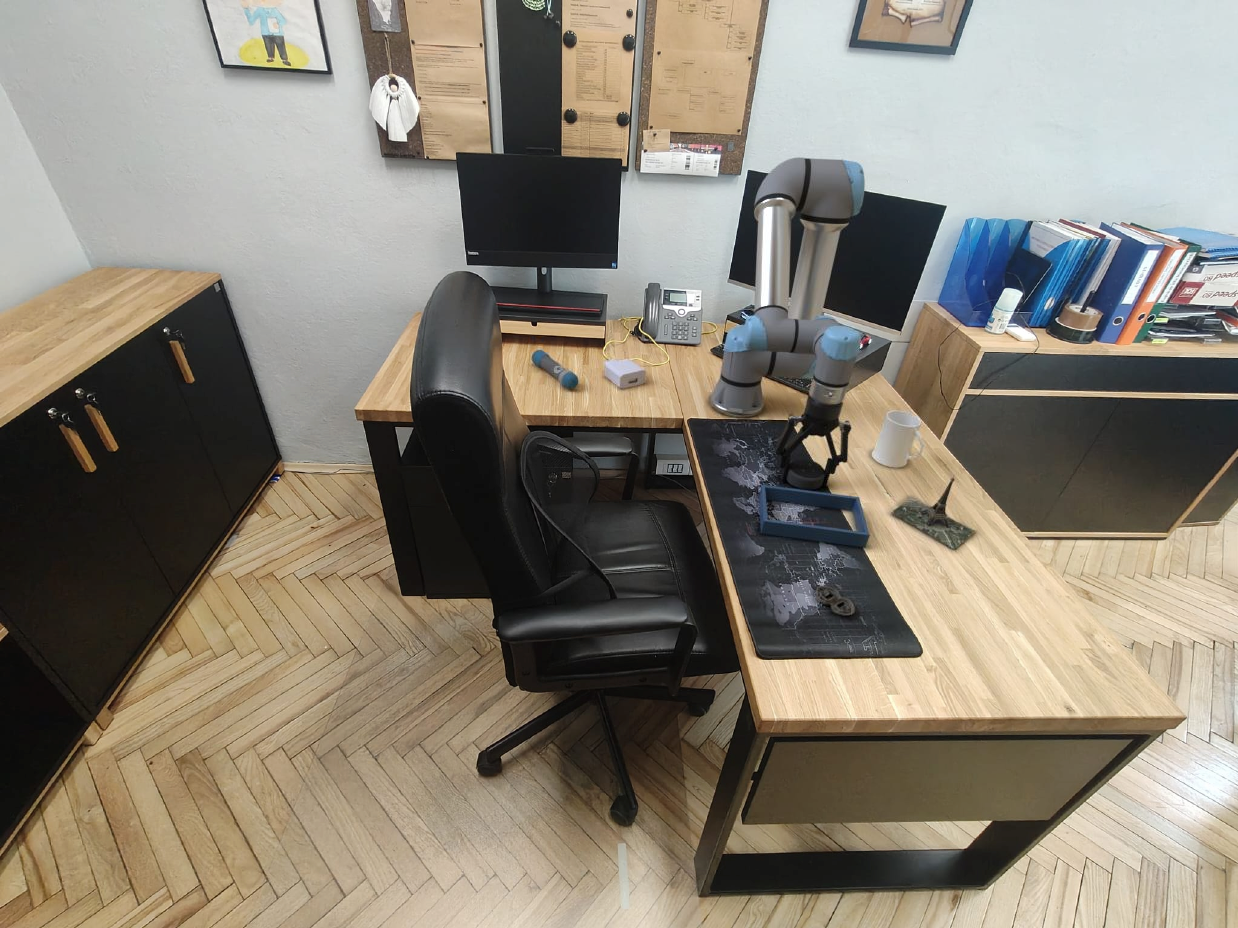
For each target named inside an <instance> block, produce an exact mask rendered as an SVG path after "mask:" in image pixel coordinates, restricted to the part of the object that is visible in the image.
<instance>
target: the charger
mask: <svg viewBox="0 0 1238 928" xmlns="http://www.w3.org/2000/svg"><path fill="white" fill-rule="evenodd" d="M603 363H604V364H603V366H604V367H605V369H604V371H605V372H604V375H605V377H606V378H607V379H608V380H610V382H611V383H613V384H615V386H617V387H618V388H619V389H628V388H632V387H637V386H640V385H643V384H645V382H646V377H647V370H646V369H644V368H643V367H641V366H640V365H639V364H637V363H636V362H635V361H632V359H630V358H626V359H622V360H621V359H620V360H618V359H615V358H613V359H612V358H610V359H609V360H607V359H605V362H603Z"/></svg>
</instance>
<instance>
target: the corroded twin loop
mask: <svg viewBox="0 0 1238 928" xmlns="http://www.w3.org/2000/svg"><path fill="white" fill-rule="evenodd" d="M815 595H816V597H817V601H818V602H819V603H821V604H822V605H826V606H830V607H831V611H832V612H833V613H834V614H835V615H839V616H842V617H848V616H851V615H853V614H855V611H856V608H855V604H854V602H853V601H851V599H849V598H846V597H843V596H842V595H841V593H840V591H839V589H837V588H836V587H833V586H829V585H818V586H816V588H815ZM829 595H831V597H829V598H826V597H827V596H829ZM839 604H843V605H842V606H840V607H839Z"/></svg>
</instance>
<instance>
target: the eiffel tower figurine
mask: <svg viewBox="0 0 1238 928" xmlns="http://www.w3.org/2000/svg"><path fill="white" fill-rule="evenodd" d="M955 476H956V474H954V475H953V477H951V478H950V481H949V482H948V484H947V486H946V488H945V490H944V492H943V494H942V495H941V496H940V498H939V499H937V502H935V503H934V504H933V505H932V506H929V505H926V504H925V503H923V502H920V501H919V500H916V499H914V498H912V497H911V498H909V499H908V500H906V501H905V502H903V503H902V504H900V505H899V506H898V507H896V508H895V509H893V510H892V511H890V514H893V515H894V516H895V517H898V518H899V519H901V520H903V521H904V522H906V523H908V524H910V525H912V526H914V527H915V528H917V529H919V530H921V531H922V532H924V533H926V534H927V535H929V536H930V537H932V538H934V539H936V540H938V541H939V542H941V544H943V545H945V546H947V547H948V548H950V549H951V550H953V551H955V550H956V549H957V548H958V547H960V546H961V544H963V543H964V542H965V541H966V540H967V539H968V538H969V537H971V535H973V533H975V532H976V530H975V529H973V528H971V527H969V526H967V525H964V524H962V523H960V522H959V521H957V520H955V519H953V518H951V517H949V516H948V514H947V511H946V510H947V509H946V508H947V500H948V497H949V495H950V492H951V489H952V486H953V483H954V482H955Z"/></svg>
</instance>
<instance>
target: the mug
mask: <svg viewBox="0 0 1238 928" xmlns="http://www.w3.org/2000/svg"><path fill="white" fill-rule="evenodd" d="M921 424H922V420H921V419H920V418H919V416H917V415H916V414H913V413H911V412H909V411H905V410H897V409H896V410H894V409H893V410H890V411H888V412H887V413H886V414H885V418H884V419H883V424H882V426H881V429H880V432H879V435H878V438H877V440H876V444H875V447H874V449H873V450H872V452H871V457H872V458H873V460H874V461H875V462H877V463H879V464H880V465H882V466H885V467H889V468H897V469H898V468H903V467H905V466H906V465H907V464H908V460H915V459H917V458H919V457H920V456H921V455H922V454H923V452H924V446H925V444H924V439H923V437H922V435H921V433H920V432H919V430H920V428H921ZM916 437H917V439H918V441H919V445H920V448H919V451H918V453H917V454H915V455H910V453H911V451H912V448H913V445H914V443H915V440H916Z"/></svg>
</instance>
